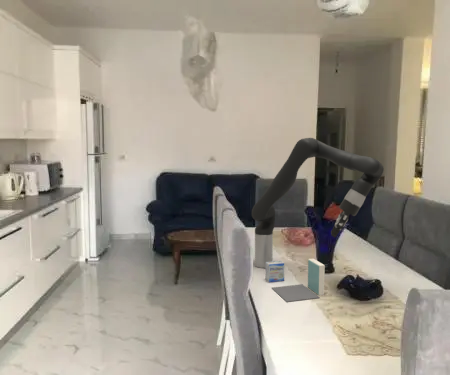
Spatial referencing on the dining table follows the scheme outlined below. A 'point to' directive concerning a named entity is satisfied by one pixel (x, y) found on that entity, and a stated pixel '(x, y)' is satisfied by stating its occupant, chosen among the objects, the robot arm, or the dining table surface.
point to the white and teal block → (316, 276)
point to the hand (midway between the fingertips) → (332, 235)
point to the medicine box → (274, 271)
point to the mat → (295, 293)
